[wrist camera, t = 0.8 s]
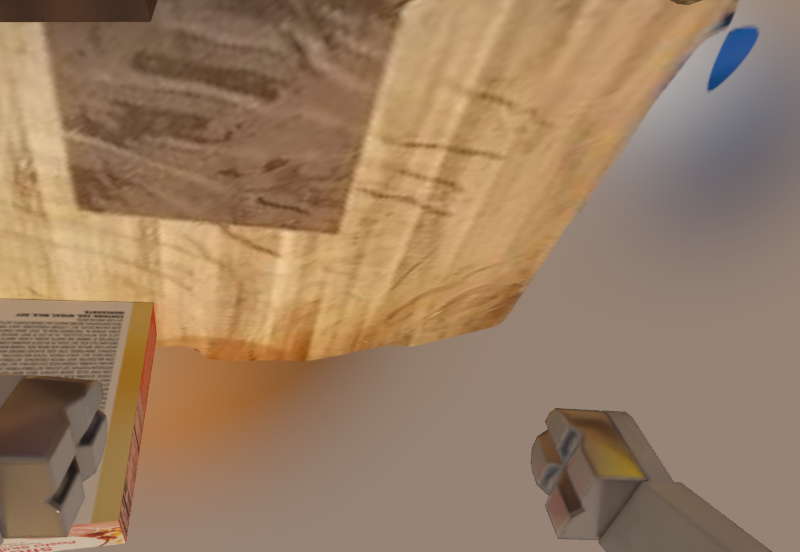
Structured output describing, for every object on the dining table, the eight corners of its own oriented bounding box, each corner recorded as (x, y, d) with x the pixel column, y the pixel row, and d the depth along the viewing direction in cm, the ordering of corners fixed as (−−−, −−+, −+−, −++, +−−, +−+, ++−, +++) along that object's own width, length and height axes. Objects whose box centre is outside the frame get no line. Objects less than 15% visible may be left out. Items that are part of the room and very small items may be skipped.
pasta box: (-22, 334, 72) (-123, 571, 52) (-41, 297, 66) (-162, 548, 47) (156, 335, 79) (125, 543, 60) (153, 302, 74) (118, 520, 54)
